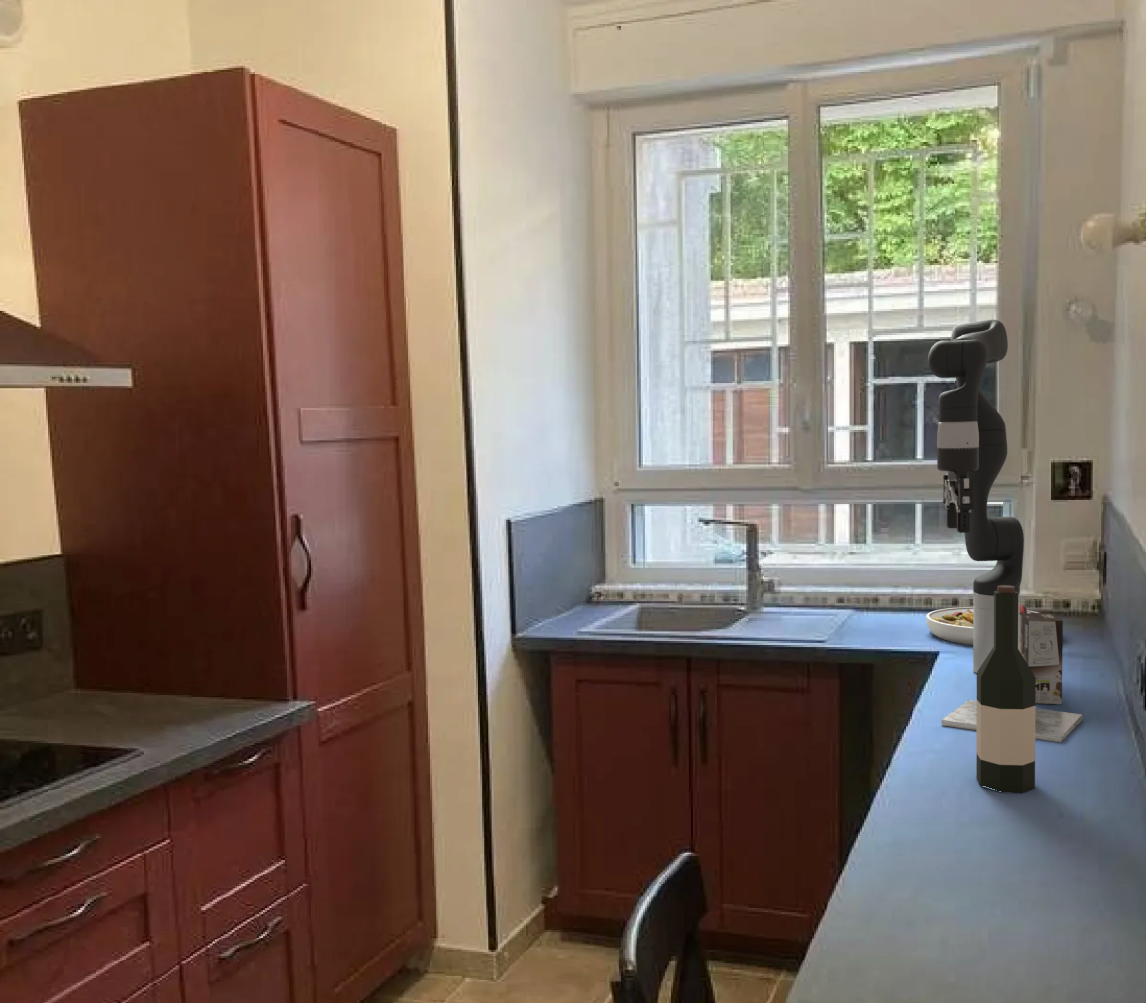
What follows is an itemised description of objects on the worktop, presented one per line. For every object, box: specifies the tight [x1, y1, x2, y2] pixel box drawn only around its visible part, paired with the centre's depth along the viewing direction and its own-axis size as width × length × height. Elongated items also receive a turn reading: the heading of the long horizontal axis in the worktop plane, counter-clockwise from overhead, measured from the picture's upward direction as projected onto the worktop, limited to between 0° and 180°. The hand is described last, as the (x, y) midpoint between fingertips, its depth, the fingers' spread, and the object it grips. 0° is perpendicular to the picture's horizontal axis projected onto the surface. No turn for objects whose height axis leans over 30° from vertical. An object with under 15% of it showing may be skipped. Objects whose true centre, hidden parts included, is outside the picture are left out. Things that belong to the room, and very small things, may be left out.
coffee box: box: [1019, 612, 1064, 705], centre depth 214 cm, size 9×6×16 cm
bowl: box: [925, 603, 1040, 646], centre depth 273 cm, size 30×30×8 cm
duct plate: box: [941, 699, 1083, 743], centre depth 198 cm, size 16×20×6 cm
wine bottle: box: [976, 585, 1036, 794], centre depth 165 cm, size 8×8×30 cm
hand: (957, 530), depth 212 cm, fingers open, 8 cm apart
